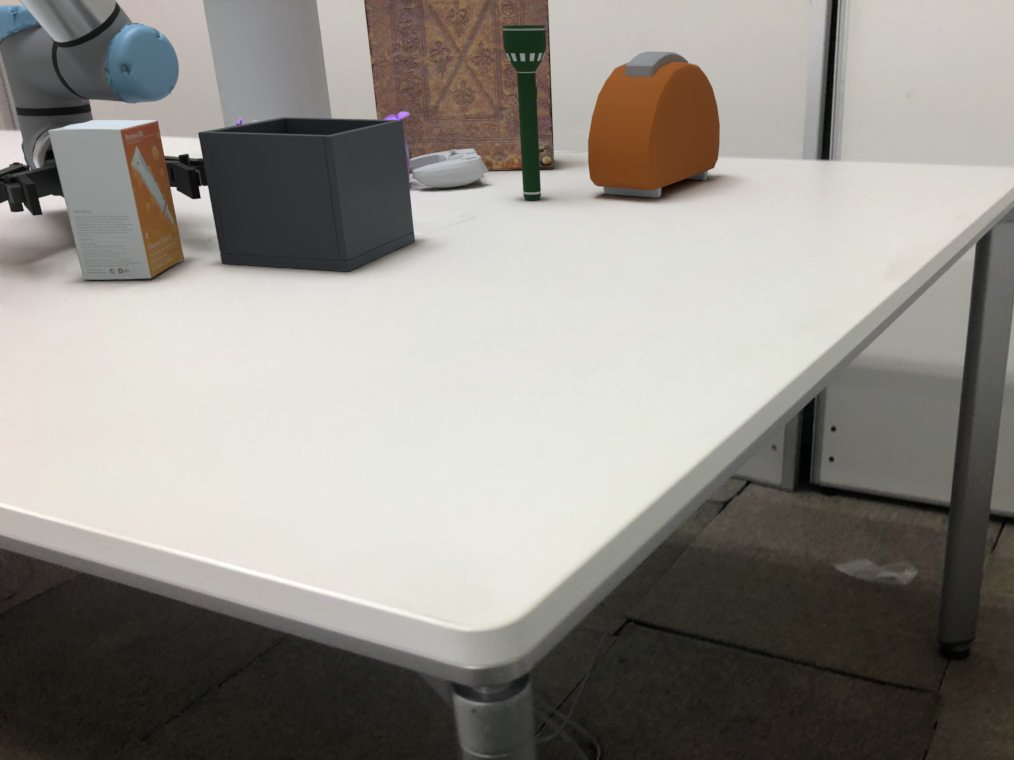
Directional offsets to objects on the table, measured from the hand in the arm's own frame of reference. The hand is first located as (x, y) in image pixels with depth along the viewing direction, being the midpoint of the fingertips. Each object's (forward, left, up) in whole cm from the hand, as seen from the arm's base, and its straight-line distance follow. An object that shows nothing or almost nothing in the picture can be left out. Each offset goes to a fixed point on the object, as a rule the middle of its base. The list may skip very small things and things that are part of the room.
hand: (117, 191), depth 93 cm
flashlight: (+24, +43, -7) cm, 50 cm away
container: (-29, +70, -7) cm, 76 cm away
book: (+5, +67, -7) cm, 67 cm away
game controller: (+8, +53, -7) cm, 54 cm away
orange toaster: (+37, +56, -7) cm, 68 cm away
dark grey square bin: (+14, +10, -7) cm, 19 cm away
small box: (+1, -1, -7) cm, 7 cm away
